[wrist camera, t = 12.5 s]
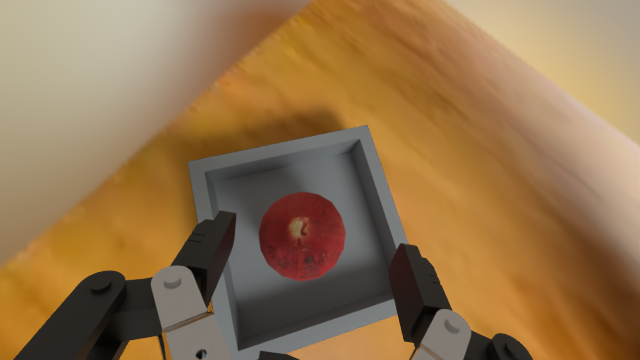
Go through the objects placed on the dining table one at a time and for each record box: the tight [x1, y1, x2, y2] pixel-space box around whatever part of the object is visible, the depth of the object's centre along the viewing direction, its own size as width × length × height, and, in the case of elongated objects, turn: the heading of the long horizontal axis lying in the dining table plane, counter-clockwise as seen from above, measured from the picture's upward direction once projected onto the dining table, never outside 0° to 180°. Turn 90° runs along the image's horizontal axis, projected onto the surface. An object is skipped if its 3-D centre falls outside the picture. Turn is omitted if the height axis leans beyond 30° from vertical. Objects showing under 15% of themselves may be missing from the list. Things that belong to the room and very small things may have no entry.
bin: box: [188, 125, 408, 360], centre depth 22 cm, size 14×14×4 cm
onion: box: [258, 192, 346, 282], centre depth 19 cm, size 6×6×8 cm
